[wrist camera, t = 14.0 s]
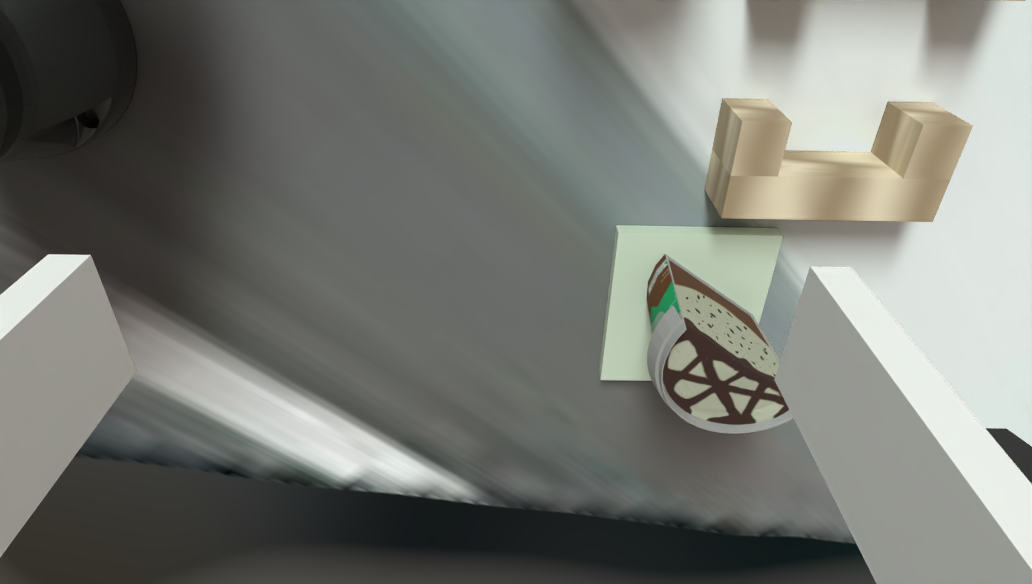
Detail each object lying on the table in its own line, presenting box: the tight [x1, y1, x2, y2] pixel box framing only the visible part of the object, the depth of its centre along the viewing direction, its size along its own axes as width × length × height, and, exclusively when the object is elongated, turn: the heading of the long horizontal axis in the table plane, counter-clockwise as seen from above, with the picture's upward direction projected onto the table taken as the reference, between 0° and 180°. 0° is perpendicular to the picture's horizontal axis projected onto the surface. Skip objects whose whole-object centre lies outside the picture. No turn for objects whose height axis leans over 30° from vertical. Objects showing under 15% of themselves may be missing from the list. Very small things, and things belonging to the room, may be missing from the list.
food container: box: [647, 254, 793, 434], centre depth 47 cm, size 12×6×10 cm, turn 54°
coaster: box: [599, 225, 783, 381], centre depth 52 cm, size 12×14×1 cm
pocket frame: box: [705, 0, 1025, 222], centre depth 39 cm, size 14×20×4 cm
